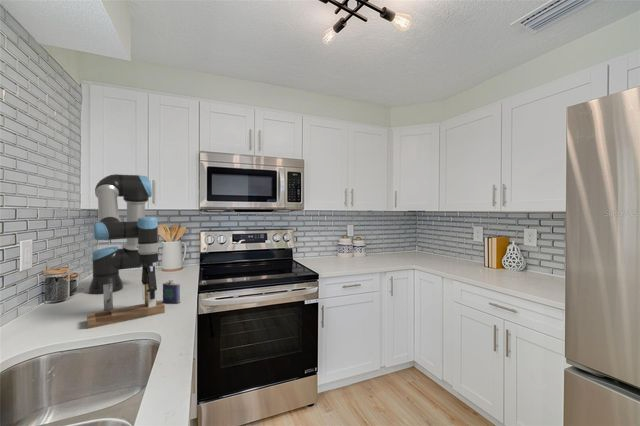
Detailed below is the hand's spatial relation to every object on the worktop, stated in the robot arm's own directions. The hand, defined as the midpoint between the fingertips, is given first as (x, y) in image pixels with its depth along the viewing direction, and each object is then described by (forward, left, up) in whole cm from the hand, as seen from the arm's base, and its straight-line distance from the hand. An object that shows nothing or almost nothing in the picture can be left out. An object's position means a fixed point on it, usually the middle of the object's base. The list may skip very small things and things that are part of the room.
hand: (149, 302), depth 127 cm
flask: (-9, +11, -4) cm, 14 cm away
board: (0, -8, -4) cm, 9 cm away
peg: (-13, -13, -4) cm, 19 cm away
